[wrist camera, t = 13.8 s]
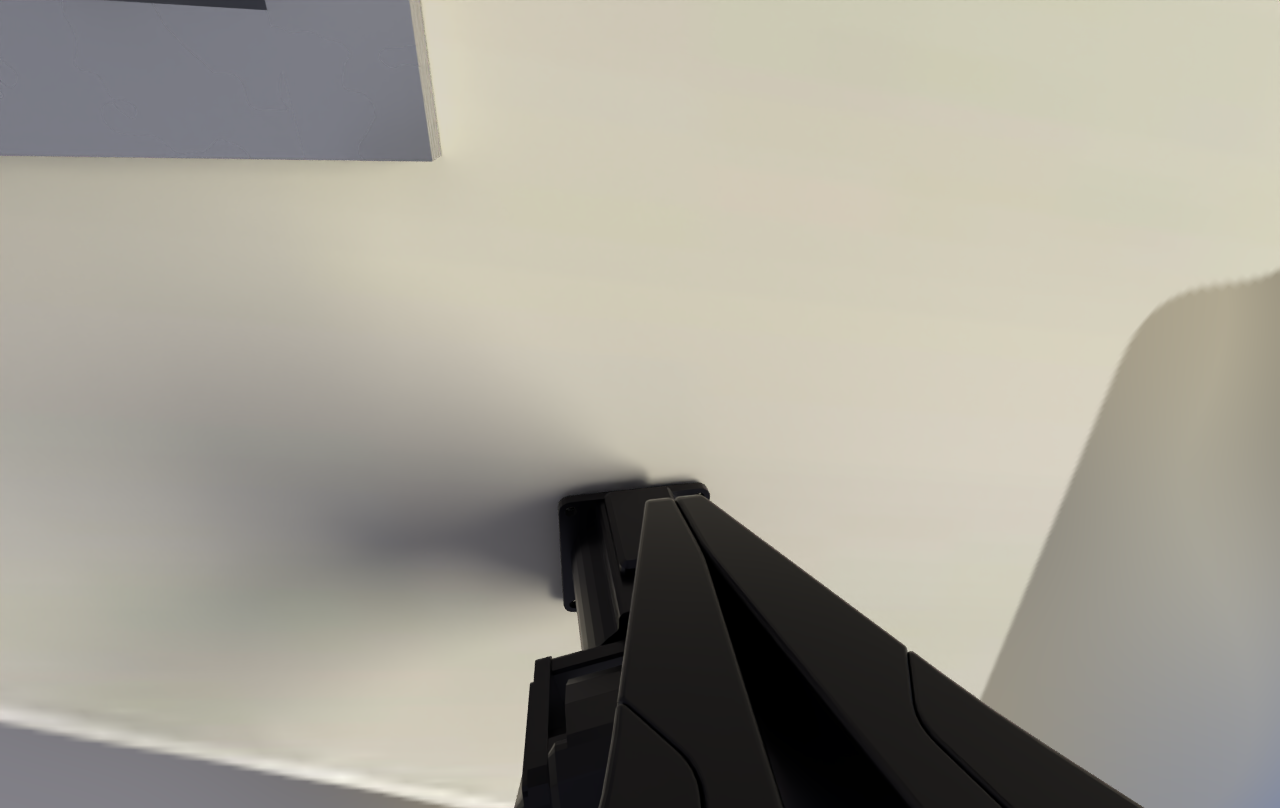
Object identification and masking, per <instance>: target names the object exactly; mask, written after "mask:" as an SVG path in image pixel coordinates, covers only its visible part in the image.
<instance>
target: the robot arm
mask: <svg viewBox="0 0 1280 808" xmlns="http://www.w3.org/2000/svg"><path fill="white" fill-rule="evenodd" d="M697 493H701V494H700V495H696V494H697ZM568 507H575V508H574V509H573V510H566V509H567V508H568ZM558 515H559V532H560V550H561V567H562V585H563V601H564V607H565V609H566V610H567V611H570V612H577V616H578V624H579V632H580V640H581V648H582V651H579V652H575V653H571V654H568V655H564V656H560V657H557V658H553V659H552V657H551V656H549V657H546V658H542V659H538V660H535V671H534V682H532V683H530V691H529V702H528V714H527V726H526V738H525V749H524V761H523V773H522V778H521V782H520V786H519V791H518V795H517V799H516V803H515V807H514V808H1144V807H1142V806H1141V805H1139V804H1138V803H1136V802H1134V801H1133V800H1131V799H1130V798H1128V797H1127V796H1125V795H1124V794H1122V793H1120V792H1119V791H1117V790H1116V789H1114V788H1113V787H1111V786H1110V785H1108V784H1106V783H1105V782H1103V781H1102V780H1100V779H1099V778H1097V777H1096V776H1094V775H1092V774H1091V773H1089V772H1088V771H1086V770H1084V769H1083V768H1082V767H1080V766H1078V765H1077V764H1075V763H1074V762H1072V761H1071V760H1069V759H1068V758H1066V757H1064V756H1063V755H1061V754H1060V753H1058V752H1057V751H1055V750H1053V749H1052V748H1050V747H1049V746H1047V745H1046V744H1044V743H1043V742H1041V741H1040V740H1038V739H1037V738H1035V737H1034V736H1032V735H1031V734H1029V733H1028V732H1026V731H1025V730H1023V729H1021V728H1020V727H1019V726H1017V725H1016V724H1014V723H1013V722H1011V721H1010V720H1008V719H1007V718H1005V717H1004V716H1002V715H1001V714H999V713H998V712H996V711H995V710H993V709H992V708H990V707H989V706H987V705H986V704H985V703H983V702H982V701H981V700H979V699H978V698H976V697H975V696H974V695H972V694H971V693H969V692H968V691H967V690H965V689H964V688H962V687H961V686H960V685H958V684H957V683H955V682H954V681H953V680H951V679H950V678H948V677H947V676H946V675H944V674H943V673H941V672H940V671H939V670H937V669H936V668H935V667H933V666H932V665H931V664H929V663H928V662H927V661H925V660H924V659H923V658H921V657H920V656H919V655H917V654H916V653H914V652H913V651H910V652H907V648H906V646H905V645H903V644H902V643H901V642H899V641H898V640H897V639H895V638H894V637H893V636H891V635H890V634H889V633H887V632H886V631H885V630H883V629H882V628H881V627H879V626H878V625H876V624H875V623H874V622H872V621H871V620H870V619H868V618H867V617H866V616H864V615H863V614H862V613H860V612H859V611H858V610H856V609H855V608H854V607H852V606H851V605H850V604H848V603H847V602H846V601H844V600H843V599H842V598H840V597H839V596H837V595H836V594H835V593H833V592H832V591H831V590H829V589H828V588H827V587H825V586H824V585H823V584H821V583H820V582H819V581H817V580H816V579H815V578H813V577H812V576H811V575H809V574H808V573H807V572H805V571H804V570H803V569H801V568H800V567H798V566H797V565H796V564H794V563H793V562H792V561H790V560H789V559H788V558H786V557H785V556H784V555H782V554H781V553H780V552H778V551H777V550H776V549H774V548H773V547H772V546H770V545H769V544H768V543H766V542H765V541H764V540H762V539H761V538H759V537H758V536H757V535H755V534H754V533H753V532H751V531H750V530H749V529H747V528H746V527H745V526H743V525H742V524H741V523H739V522H738V521H737V520H735V519H734V518H733V517H731V516H730V515H729V514H727V513H726V512H725V511H723V510H722V509H720V508H719V507H718V506H716V505H715V504H714V503H712V502H711V501H710V493H709V491H708V489H707V487H706V486H705V485H704V484H702V483H690V484H680V485H670V486H661V487H651V488H642V489H632V490H623V491H613V492H603V493H594V494H584V495H575V496H568V497H565V498H563V499H562V500H561V501H560V502H559V504H558ZM574 600H576V601H574Z"/></svg>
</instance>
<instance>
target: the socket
mask: <svg viewBox="0 0 1280 808" xmlns="http://www.w3.org/2000/svg"><path fill="white" fill-rule="evenodd" d="M0 156H72V157H144V158H217V159H289V160H361V161H434V160H435V159H437V158H438V157H440V156H441V148H440V141H439V133H438V126H437V119H436V111H435V104H434V97H433V89H432V82H431V75H430V67H429V60H428V53H427V45H426V38H425V31H424V24H423V16H422V9H421V2H420V0H0Z"/></svg>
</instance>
